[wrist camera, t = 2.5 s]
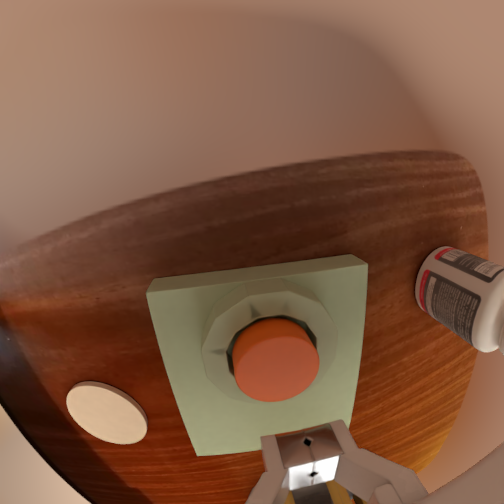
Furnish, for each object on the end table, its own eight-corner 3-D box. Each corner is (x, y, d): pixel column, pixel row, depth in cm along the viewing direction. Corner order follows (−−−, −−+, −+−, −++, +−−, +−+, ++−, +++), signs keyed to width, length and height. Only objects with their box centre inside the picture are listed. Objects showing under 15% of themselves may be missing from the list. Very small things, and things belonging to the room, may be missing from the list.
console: (153, 278, 16) (136, 307, 12) (351, 253, 17) (385, 273, 13) (197, 436, 20) (197, 473, 16) (339, 412, 21) (356, 445, 17)
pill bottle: (435, 320, 20) (515, 380, 10) (400, 294, 18) (496, 363, 9) (467, 265, 19) (555, 306, 10) (437, 231, 18) (544, 268, 8)
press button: (227, 323, 13) (229, 342, 12) (309, 311, 14) (321, 328, 12) (237, 386, 14) (239, 408, 13) (309, 374, 15) (318, 393, 13)
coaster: (55, 378, 17) (53, 383, 16) (131, 381, 18) (130, 386, 17) (88, 436, 19) (87, 440, 18) (158, 440, 19) (157, 445, 19)
